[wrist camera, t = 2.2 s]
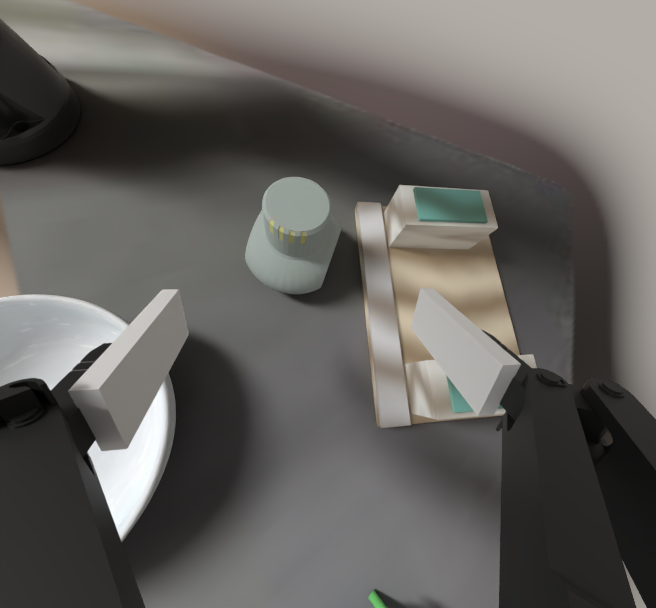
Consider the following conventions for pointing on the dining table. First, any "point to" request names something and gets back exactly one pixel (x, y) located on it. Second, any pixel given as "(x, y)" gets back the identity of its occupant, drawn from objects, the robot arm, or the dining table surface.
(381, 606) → the gear
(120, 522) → the serving bowl
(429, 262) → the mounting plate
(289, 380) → the dining table surface
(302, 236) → the air freshener
